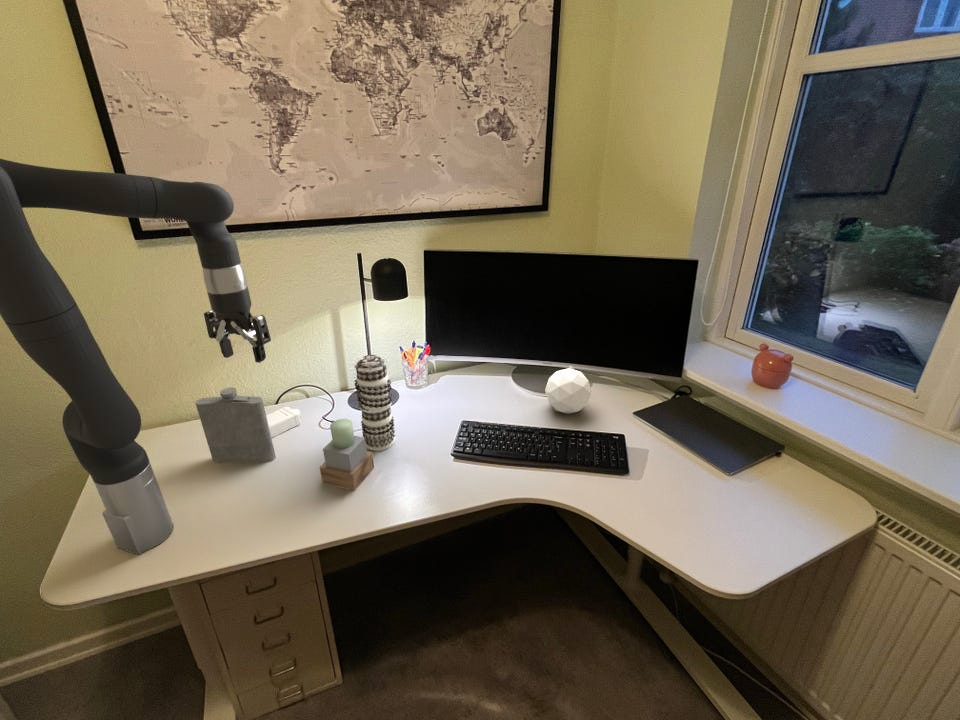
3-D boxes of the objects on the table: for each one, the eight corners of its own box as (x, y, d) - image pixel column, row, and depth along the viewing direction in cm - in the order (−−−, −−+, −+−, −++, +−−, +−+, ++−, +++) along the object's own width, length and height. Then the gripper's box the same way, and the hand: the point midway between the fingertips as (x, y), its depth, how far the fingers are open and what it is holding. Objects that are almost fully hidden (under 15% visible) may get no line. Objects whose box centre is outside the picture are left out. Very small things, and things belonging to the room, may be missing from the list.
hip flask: (210, 463, 124) (189, 395, 115) (218, 453, 127) (198, 387, 119) (273, 462, 124) (257, 394, 115) (278, 452, 128) (263, 386, 119)
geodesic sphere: (542, 376, 153) (546, 356, 141) (585, 377, 153) (593, 357, 140) (543, 419, 147) (547, 402, 134) (589, 420, 146) (597, 403, 134)
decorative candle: (355, 448, 129) (343, 364, 118) (373, 429, 137) (363, 349, 126) (386, 454, 126) (376, 369, 116) (402, 435, 134) (395, 353, 124)
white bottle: (306, 423, 141) (303, 410, 139) (262, 444, 131) (259, 430, 130) (293, 415, 145) (291, 402, 143) (250, 435, 135) (247, 421, 133)
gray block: (351, 471, 113) (348, 454, 111) (325, 466, 115) (322, 448, 113) (367, 454, 119) (364, 437, 117) (342, 449, 121) (339, 432, 119)
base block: (355, 491, 114) (352, 474, 112) (322, 483, 117) (319, 467, 114) (374, 468, 122) (372, 452, 120) (343, 461, 124) (341, 445, 122)
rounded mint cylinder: (358, 438, 116) (356, 420, 114) (347, 450, 112) (344, 432, 110) (340, 434, 118) (338, 417, 116) (328, 446, 113) (325, 428, 111)
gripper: (268, 284, 99) (283, 355, 106) (213, 278, 103) (231, 348, 110) (241, 295, 93) (259, 370, 100) (184, 289, 97) (205, 361, 104)
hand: (244, 358), depth 105 cm, fingers open, 8 cm apart
